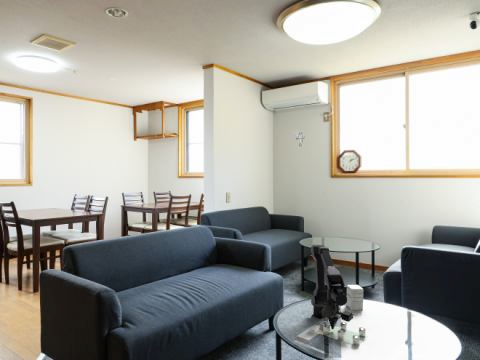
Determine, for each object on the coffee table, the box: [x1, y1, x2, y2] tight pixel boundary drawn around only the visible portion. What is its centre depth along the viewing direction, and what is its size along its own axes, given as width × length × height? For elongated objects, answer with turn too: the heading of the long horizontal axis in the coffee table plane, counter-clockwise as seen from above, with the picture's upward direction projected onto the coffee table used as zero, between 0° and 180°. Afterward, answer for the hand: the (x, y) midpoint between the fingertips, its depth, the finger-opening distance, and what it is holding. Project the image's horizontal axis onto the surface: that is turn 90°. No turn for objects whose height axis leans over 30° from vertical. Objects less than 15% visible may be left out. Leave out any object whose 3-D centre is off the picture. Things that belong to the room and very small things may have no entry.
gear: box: [318, 320, 330, 331], centre depth 172 cm, size 6×6×3 cm
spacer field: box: [323, 321, 366, 347], centre depth 166 cm, size 18×13×4 cm
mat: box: [313, 325, 368, 346], centre depth 167 cm, size 22×13×1 cm, turn 50°
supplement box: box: [345, 284, 364, 311], centre depth 202 cm, size 7×7×13 cm
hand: (332, 329), depth 170 cm, fingers closed
